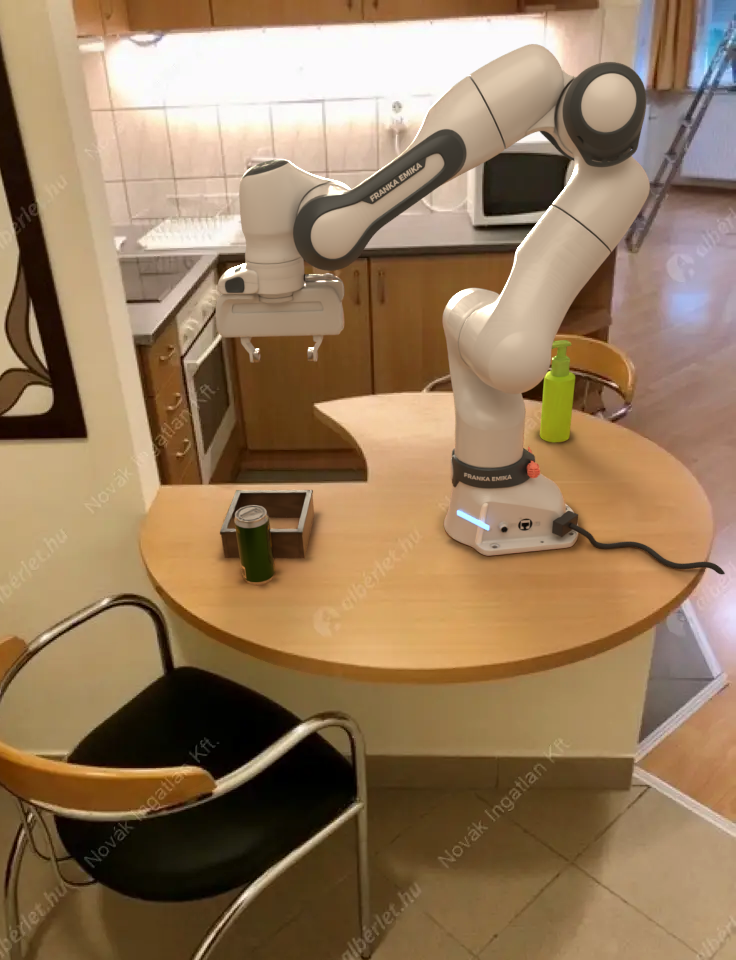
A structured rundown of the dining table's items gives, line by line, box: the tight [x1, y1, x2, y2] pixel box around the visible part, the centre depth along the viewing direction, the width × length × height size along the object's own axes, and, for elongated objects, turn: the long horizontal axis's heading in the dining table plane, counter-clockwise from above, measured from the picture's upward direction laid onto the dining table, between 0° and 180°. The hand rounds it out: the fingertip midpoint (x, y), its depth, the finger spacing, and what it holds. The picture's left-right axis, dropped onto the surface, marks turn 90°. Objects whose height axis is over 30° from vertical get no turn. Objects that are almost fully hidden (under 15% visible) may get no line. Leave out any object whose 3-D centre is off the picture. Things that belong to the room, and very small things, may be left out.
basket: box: [219, 489, 315, 559], centre depth 147 cm, size 14×14×5 cm
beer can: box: [234, 505, 276, 586], centre depth 135 cm, size 5×5×12 cm
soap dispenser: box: [539, 339, 576, 443], centre depth 169 cm, size 6×7×20 cm
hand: (284, 360), depth 139 cm, fingers open, 8 cm apart
